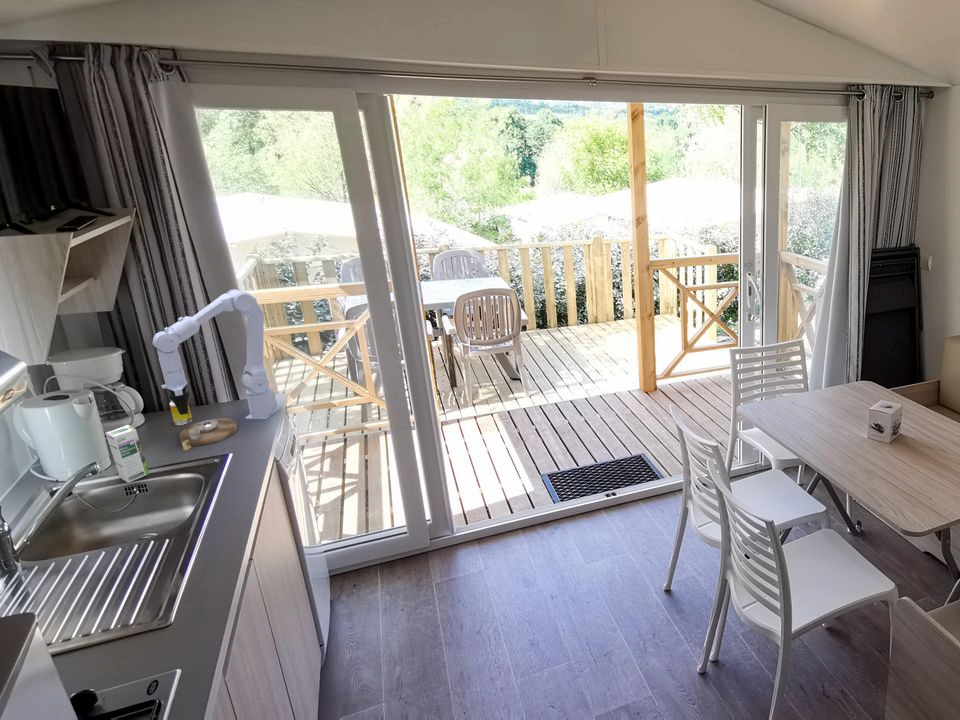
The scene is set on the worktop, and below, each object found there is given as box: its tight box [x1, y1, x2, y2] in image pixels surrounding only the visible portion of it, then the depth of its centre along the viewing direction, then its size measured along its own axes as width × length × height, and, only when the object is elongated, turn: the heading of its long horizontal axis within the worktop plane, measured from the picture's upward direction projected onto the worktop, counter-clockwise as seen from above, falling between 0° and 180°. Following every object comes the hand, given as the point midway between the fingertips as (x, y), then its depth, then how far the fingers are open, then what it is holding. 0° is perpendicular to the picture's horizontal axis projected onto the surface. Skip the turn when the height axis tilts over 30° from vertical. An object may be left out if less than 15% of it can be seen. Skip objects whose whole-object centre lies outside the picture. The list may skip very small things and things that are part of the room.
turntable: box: [178, 417, 238, 447], centre depth 175 cm, size 17×17×5 cm
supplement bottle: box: [169, 399, 193, 426], centre depth 185 cm, size 6×6×10 cm
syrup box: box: [105, 424, 150, 484], centre depth 150 cm, size 6×6×14 cm
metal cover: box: [197, 419, 218, 433], centre depth 175 cm, size 6×6×2 cm
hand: (183, 409), depth 171 cm, fingers open, 7 cm apart
